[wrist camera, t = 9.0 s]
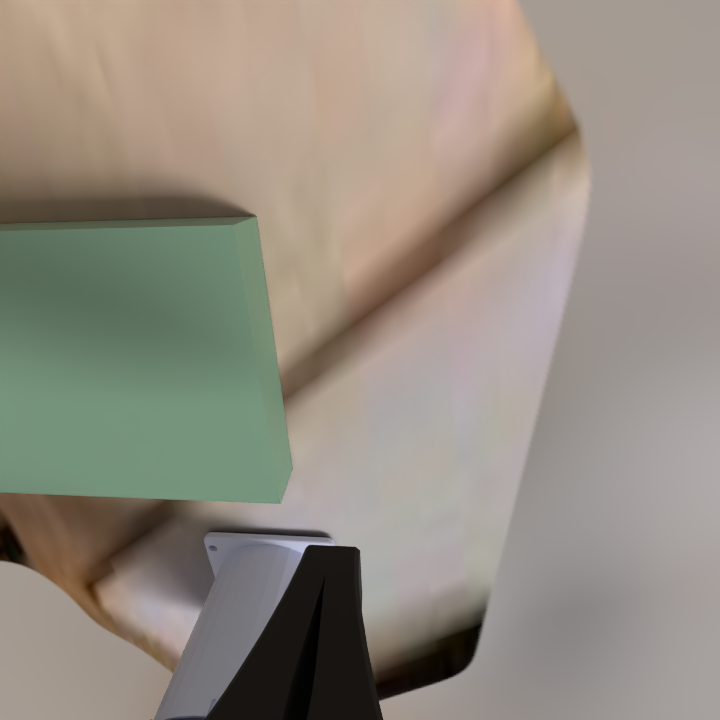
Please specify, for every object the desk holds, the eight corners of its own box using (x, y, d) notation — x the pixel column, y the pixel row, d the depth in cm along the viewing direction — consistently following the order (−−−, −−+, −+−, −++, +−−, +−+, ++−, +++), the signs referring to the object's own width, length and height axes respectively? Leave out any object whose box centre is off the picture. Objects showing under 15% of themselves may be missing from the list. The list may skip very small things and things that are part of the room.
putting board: (292, 468, 22) (280, 503, 19) (-70, 456, 24) (-118, 487, 21) (256, 216, 16) (233, 225, 14) (-219, 229, 18) (-307, 239, 16)
